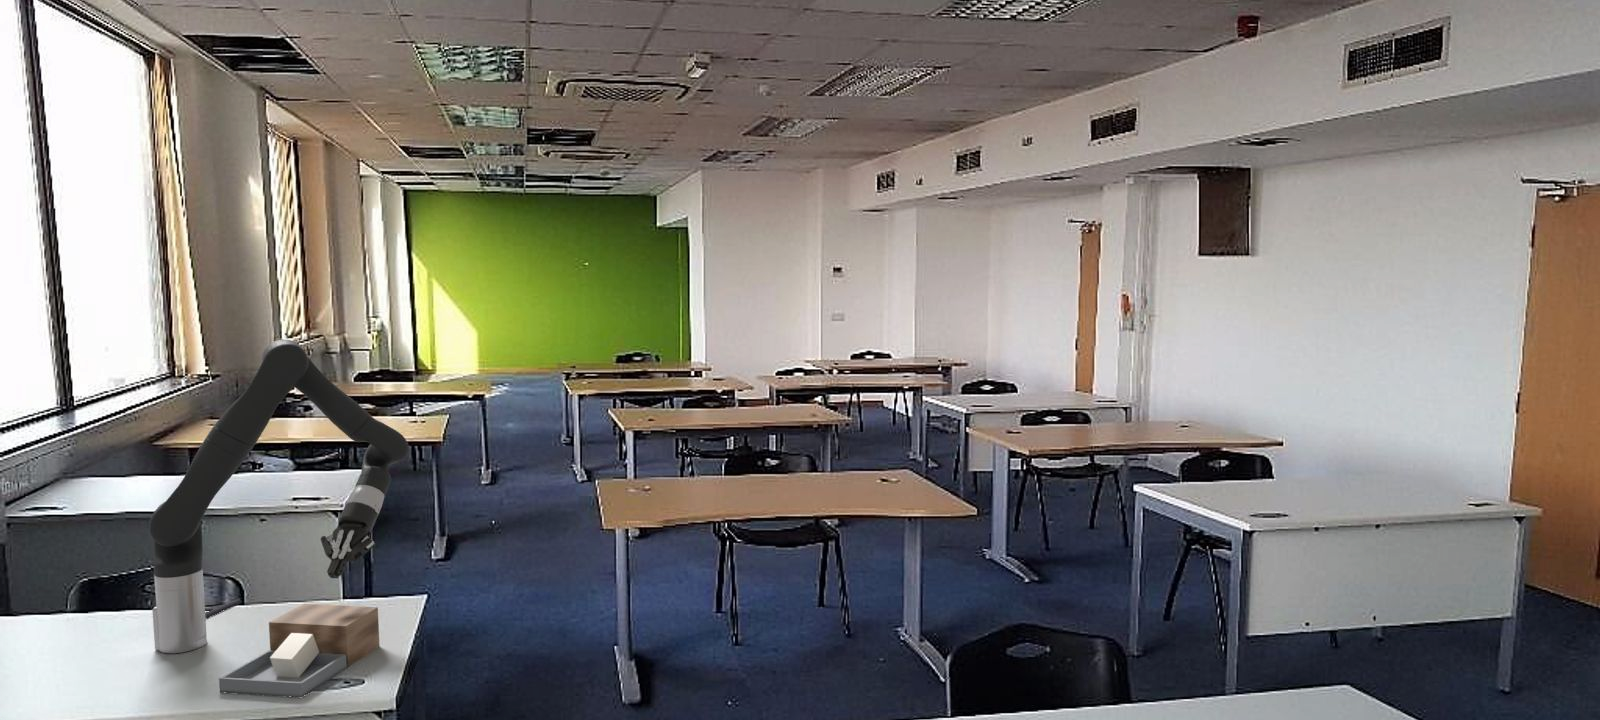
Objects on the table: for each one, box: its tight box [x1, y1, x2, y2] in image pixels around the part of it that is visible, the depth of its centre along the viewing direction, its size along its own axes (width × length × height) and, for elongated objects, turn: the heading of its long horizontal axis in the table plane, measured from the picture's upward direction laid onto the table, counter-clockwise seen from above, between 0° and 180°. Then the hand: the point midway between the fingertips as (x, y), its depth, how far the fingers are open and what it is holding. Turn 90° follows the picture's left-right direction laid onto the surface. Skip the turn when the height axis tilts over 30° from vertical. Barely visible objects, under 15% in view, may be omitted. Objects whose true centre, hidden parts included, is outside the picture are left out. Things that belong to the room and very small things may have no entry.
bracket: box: [205, 598, 242, 619], centre depth 251 cm, size 14×15×3 cm
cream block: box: [270, 633, 319, 678], centre depth 211 cm, size 5×5×8 cm
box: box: [218, 649, 348, 698], centre depth 209 cm, size 18×15×3 cm
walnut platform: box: [268, 603, 380, 668], centre depth 222 cm, size 18×12×9 cm, turn 82°
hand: (332, 576), depth 224 cm, fingers closed
